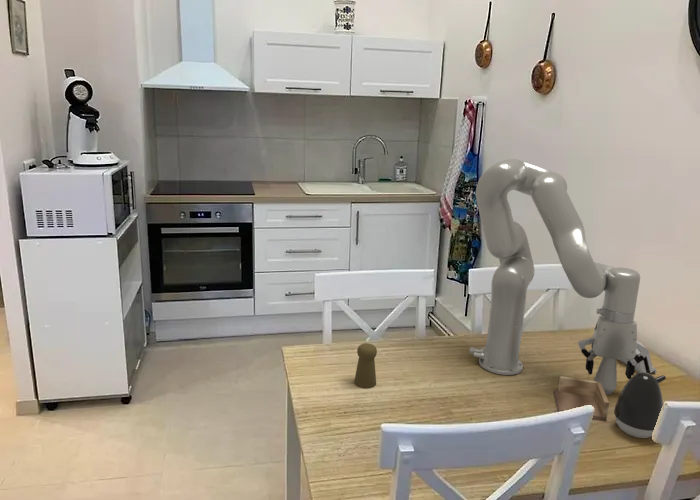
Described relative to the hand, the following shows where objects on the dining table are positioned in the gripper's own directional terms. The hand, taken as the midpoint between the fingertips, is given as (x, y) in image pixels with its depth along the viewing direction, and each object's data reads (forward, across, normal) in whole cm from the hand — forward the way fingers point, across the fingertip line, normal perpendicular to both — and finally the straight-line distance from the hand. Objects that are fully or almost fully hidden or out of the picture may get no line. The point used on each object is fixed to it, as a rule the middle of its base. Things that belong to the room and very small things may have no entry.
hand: (608, 374), depth 146 cm
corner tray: (+5, -9, -10) cm, 14 cm away
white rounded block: (+6, +10, +22) cm, 25 cm away
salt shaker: (+5, -1, 0) cm, 5 cm away
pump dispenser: (+6, +3, -18) cm, 20 cm away
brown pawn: (+4, -64, -16) cm, 66 cm away
